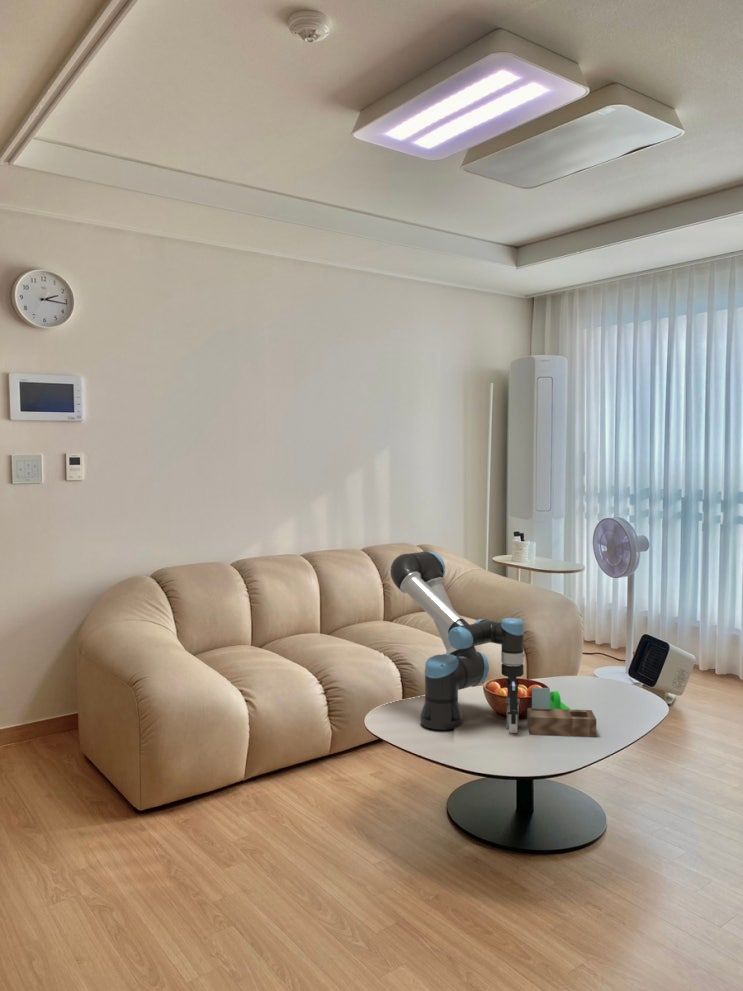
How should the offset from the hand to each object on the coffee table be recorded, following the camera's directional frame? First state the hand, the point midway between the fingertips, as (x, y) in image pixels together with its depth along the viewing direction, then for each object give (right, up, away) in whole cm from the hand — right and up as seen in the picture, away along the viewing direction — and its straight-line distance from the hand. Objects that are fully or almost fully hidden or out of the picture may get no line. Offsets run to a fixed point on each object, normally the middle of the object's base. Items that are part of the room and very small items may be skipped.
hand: (512, 727), depth 274 cm
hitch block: (+16, 0, -3) cm, 16 cm away
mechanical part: (+20, 0, +21) cm, 29 cm away
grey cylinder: (0, 0, 0) cm, 0 cm away
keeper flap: (+10, +6, +1) cm, 12 cm away
